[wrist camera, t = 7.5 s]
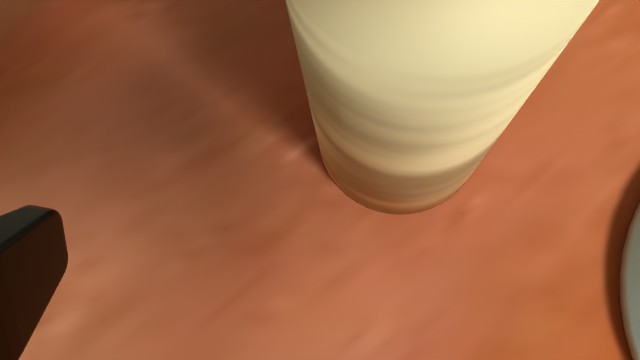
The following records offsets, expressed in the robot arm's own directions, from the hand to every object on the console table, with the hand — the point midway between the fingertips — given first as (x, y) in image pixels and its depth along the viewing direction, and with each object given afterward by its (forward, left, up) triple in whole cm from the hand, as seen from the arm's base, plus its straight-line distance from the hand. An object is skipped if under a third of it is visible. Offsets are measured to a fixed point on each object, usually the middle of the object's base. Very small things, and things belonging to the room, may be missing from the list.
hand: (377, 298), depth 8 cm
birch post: (+5, -4, -12) cm, 14 cm away
